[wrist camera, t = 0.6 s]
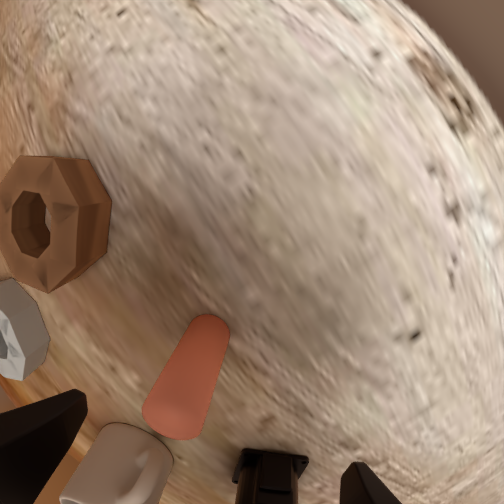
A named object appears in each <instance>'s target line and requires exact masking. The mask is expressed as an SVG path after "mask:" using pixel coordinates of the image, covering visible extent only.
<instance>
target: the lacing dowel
mask: <svg viewBox="0 0 504 504" xmlns="http://www.w3.org/2000/svg"><path fill="white" fill-rule="evenodd" d="M229 339H230V332H229V328H228V326H227V325H226V323H225V322H224V321H223V320H221V319H220V318H218V317H216V316H214V315H208V314H205V315H200V316H197V317H196V318H194V319H193V320H192V322H191V323H190V325H189V327H188V328H187V330H186V332H185V333H184V335H183V337H182V338H181V340H180V342H179V343H178V345H177V347H176V349H175V350H174V352H173V354H172V355H171V357H170V359H169V361H168V362H167V364H166V366H165V367H164V369H163V371H162V372H161V374H160V376H159V378H158V379H157V381H156V383H155V385H154V386H153V388H152V390H151V391H150V393H149V395H148V397H147V398H146V400H145V402H144V404H143V406H142V415H143V417H144V419H145V421H146V422H147V424H148V425H149V426H150V427H151V428H152V429H154V430H155V431H156V432H158V433H159V434H161V435H163V436H166V437H168V438H172V439H176V440H189V439H193V438H195V437H197V436H198V435H199V434H200V433H201V431H202V428H203V425H204V421H205V418H206V415H207V411H208V408H209V405H210V402H211V398H212V395H213V392H214V388H215V385H216V382H217V378H218V375H219V372H220V368H221V365H222V362H223V359H224V355H225V352H226V349H227V345H228V342H229Z"/></svg>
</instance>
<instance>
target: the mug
mask: <svg viewBox="0 0 504 504" xmlns="http://www.w3.org/2000/svg"><path fill="white" fill-rule="evenodd" d="M172 466H173V458H172V455H171V453H170V451H169V450H168V449H167V447H166V446H165V445H164V444H163V443H162V442H160V441H159V440H158V439H157V438H155V437H154V436H152V435H151V434H149V433H147V432H145V431H143V430H141V429H139V428H137V427H134V426H131V425H127V424H123V423H112V424H108V425H106V426H105V427H103V429H102V430H101V431H100V433H99V434H98V436H97V437H96V439H95V441H94V443H93V444H92V446H91V447H90V449H89V450H88V452H87V454H86V455H85V457H84V458H83V460H82V461H81V463H80V465H79V466H78V468H77V469H76V471H75V472H74V474H73V476H72V477H71V479H70V480H69V482H68V483H67V485H66V487H65V488H64V490H63V492H62V493H61V495H60V498H59V500H60V503H61V504H158V503H159V501H160V498H161V495H162V492H163V490H164V487H165V484H166V482H167V479H168V477H169V474H170V472H171V469H172Z"/></svg>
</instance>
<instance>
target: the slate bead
mask: <svg viewBox="0 0 504 504" xmlns="http://www.w3.org/2000/svg"><path fill="white" fill-rule="evenodd" d="M49 341H50V337H49V335H48V332H47V330H46V327H45V325H44V322H43V320H42V317H41V314H40V311H39V309H38V306H37V303H36V302H35V301H34V300H33V299H32V298H31V297H30V296H29V295H28V294H27V292H26V291H25V290H24V289H23V288H22V287H21V286H20V285H19V284H18V283H17V282H16V281H15V280H14V279H13V278H11V279H7V280H2V281H0V373H1V374H2V375H3V376H4V377H6V378H11V379H16V380H21V381H23V380H24V379H25V378H26V377H27V376H29V375H30V374H31V373H32V372H33V371H34V370H35V369H36V368H38V367H39V366H40V365H41V364H42V363H43V362H44V361H45V357H46V353H47V349H48V345H49Z"/></svg>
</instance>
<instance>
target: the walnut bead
mask: <svg viewBox="0 0 504 504" xmlns="http://www.w3.org/2000/svg"><path fill="white" fill-rule="evenodd" d="M111 204H112V200H111V199H110V197H109V195H108V194H107V192H106V190H105V189H104V187H103V185H102V183H101V182H100V180H99V178H98V176H97V175H96V173H95V171H94V169H93V167H92V166H91V164H90V162H89V160H84V159H74V158H64V157H54V156H19V157H18V158H17V160H16V161H15V163H14V164H13V165H12V167H11V168H10V170H9V171H8V173H7V174H6V176H5V177H4V179H3V180H2V182H1V183H0V250H1V252H2V254H3V256H4V258H5V260H6V262H7V264H8V266H9V268H10V270H11V272H12V274H13V276H14V278H15V279H16V280H18V281H20V282H22V283H25V284H27V285H29V286H31V287H34V288H36V289H38V290H40V291H43V292H45V293H50V292H52V291H54V290H55V289H57V288H59V287H61V286H62V285H64V284H66V283H68V282H70V281H71V280H73V279H75V278H77V277H79V276H80V275H81V274H82V273H83V272H84V271H85V270H87V269H88V268H89V267H90V266H91V265H92V264H93V263H95V262H96V261H97V260H98V259H99V258H100V257H102V256H103V255H104V254H105V253H106V252H107V243H108V232H109V222H110V212H111ZM45 206H46V207H47V209H48V211H49V213H50V215H51V234H50V232H49V231H48V229H47V227H46V225H45Z"/></svg>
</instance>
